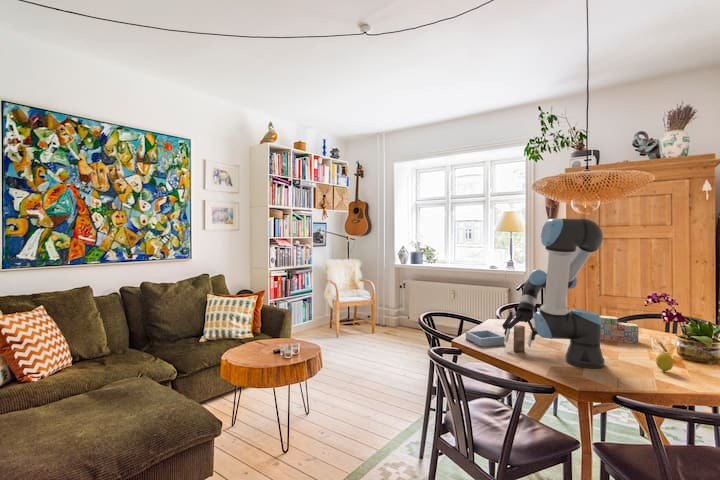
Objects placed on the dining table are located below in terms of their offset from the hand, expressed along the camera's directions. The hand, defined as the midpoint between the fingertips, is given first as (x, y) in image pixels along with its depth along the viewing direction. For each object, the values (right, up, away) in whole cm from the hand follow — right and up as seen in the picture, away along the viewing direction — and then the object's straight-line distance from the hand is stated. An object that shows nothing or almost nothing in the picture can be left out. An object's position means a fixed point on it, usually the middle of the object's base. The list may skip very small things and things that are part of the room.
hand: (517, 343), depth 185 cm
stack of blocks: (+61, -5, +23) cm, 65 cm away
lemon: (+52, -6, -24) cm, 57 cm away
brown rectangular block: (+2, -4, +2) cm, 5 cm away
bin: (-10, -4, +18) cm, 21 cm away
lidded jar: (+33, -4, +46) cm, 57 cm away
